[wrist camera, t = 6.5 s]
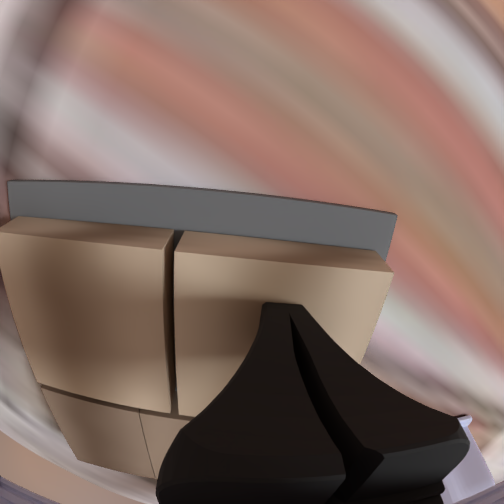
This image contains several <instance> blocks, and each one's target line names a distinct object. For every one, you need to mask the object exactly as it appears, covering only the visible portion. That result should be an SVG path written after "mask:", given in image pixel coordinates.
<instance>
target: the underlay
mask: <svg viewBox="0 0 504 504" xmlns="http://www.w3.org/2000/svg"><path fill="white" fill-rule="evenodd" d="M7 184H8V198H9V208H10V218H11V220H13V219H15V218H16V217H18V216H22V217H35V218H48V219H61V220H73V221H85V222H97V223H108V224H120V225H131V226H142V227H153V228H163V229H174V248H173V320H174V251H175V249H176V247H177V245H178V243H179V241H180V239H181V237H182V235H183V233H184V231H194V232H204V233H214V234H224V235H234V236H244V237H254V238H263V239H273V240H282V241H292V242H301V243H310V244H319V245H328V246H337V247H346V248H355V249H364V250H372V251H376V252H377V253H378V254H379V255H380V256H381V258H382V259H383V260H384V261H386V257H387V254H388V250H389V247H390V243H391V239H392V235H393V232H394V228H395V224H396V220H397V216H398V215H396V214H395V213H391V212H385V211H379V210H373V209H366V208H360V207H353V206H347V205H340V204H333V203H326V202H319V201H312V200H304V199H296V198H289V197H280V196H272V195H263V194H254V193H245V192H236V191H226V190H215V189H204V188H193V187H180V186H167V185H153V184H137V183H119V182H97V181H67V180H10V181H7ZM174 354H175V321H174ZM175 375H176V355H175ZM175 391H177V377H176V388H175Z"/></svg>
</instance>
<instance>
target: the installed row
mask: <svg viewBox="0 0 504 504" xmlns="http://www.w3.org/2000/svg"><path fill="white" fill-rule="evenodd" d="M41 390H42V392H43V394H44V397H45V399H46V401H47V403H48V405H49V407H50V409H51V412H52V414H53V416H54V418H55V420H56V422H57V424H58V425H59V427H60V429H61V431H62V433H63V435H64V437H65V439H66V440H67V442H68V444H69V446H70V447H71V449H72V451H73V453H74V454H75V456H76V458H77V459H78V460H80V461H83V462H87V463H90V464H93V465H97V466H101V467H104V468H108V469H112V470H116V471H120V472H124V473H129V474H133V475H138V476H143V477H148V478H153V479H155V478H156V479H158V474H159V470H160V467H161V464H162V462H163V459H164V457H165V455H166V453H167V451H168V449H169V447H170V446H171V444H172V442H173V440H174V439H175V437H176V435H177V434H178V432H179V430H180V429H181V428H183V427H184V426H185V425H186V424H187V423H189V422H190V421H191V420H192V419H193V418H195V417H193V416H185V415H179V409H178V395H177V391H175V393H174V398H173V402H172V407H171V412H170V413H164V412H158V411H152V410H146V409H141V408H135V407H130V406H125V405H120V404H116V403H111V402H107V401H102V400H98V399H94V398H90V397H86V396H82V395H79V394H75V393H71V392H68V391H64V390H61V389H57V388H54V387H51V386H48V385H45V384H42V386H41Z"/></svg>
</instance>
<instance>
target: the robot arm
mask: <svg viewBox="0 0 504 504" xmlns="http://www.w3.org/2000/svg"><path fill="white" fill-rule="evenodd" d="M471 421H472V417H471V416H470V415H468V416H464V417H460V418H456V417H453V416H450V415H448V414H445V413H442V412H440V411H437V410H435V409H432V408H429V407H427V406H425V405H423V404H421V403H419V402H417V401H415V400H413V399H411V398H409V397H407V396H405V395H404V394H402V393H400V392H398V391H397V390H395V389H393V388H392V387H390V386H389V385H387V384H385V383H384V382H382V381H381V380H379V379H378V378H377V377H375V376H374V375H372V374H371V373H370V372H369V371H367V370H366V369H365V368H363V367H362V366H361V365H360V364H358V363H357V362H356V361H355V360H354V359H353V358H351V357H350V356H349V355H348V354H347V353H346V352H345V351H344V350H343V349H342V348H341V347H340V346H339V345H338V344H337V343H336V342H335V341H334V340H333V339H332V338H331V337H330V336H329V335H328V334H327V333H326V331H325V330H324V329H323V328H322V327H321V326H320V325H319V324H318V322H317V321H316V320H315V319H314V318H313V317H312V315H311V314H310V313H309V312H308V311H307V310H306V308H305V307H304V306H303V305H300V304H286V303H274V302H265V303H264V304H262V310H261V316H260V322H259V328H258V332H257V335H256V337H255V339H254V341H253V343H252V345H251V348H250V350H249V352H248V353H247V355H246V357H245V359H244V360H243V362H242V364H241V365H240V367H239V368H238V370H237V371H236V373H235V374H234V375H233V377H232V378H231V380H230V381H229V382H228V384H227V385H226V386H225V387H224V388H223V390H222V391H221V392H220V393H219V394H218V395H217V396H216V397H215V398H214V399H213V400H212V402H211V403H210V404H209V405H208V406H207V407H206V408H205V409H204V410H203V411H202V412H200V413H199V414H198V415H197V416H196V417H195V418H193V419H192V420H191V421H190V422H189V423H187V424H186V425H185V426H184V427H183V428H181V429H180V430H179V432H178V434H177V435H176V437H175V439H174V440H173V442H172V444H171V446H170V447H169V449H168V451H167V453H166V455H165V457H164V459H163V462H162V464H161V467H160V470H159V474H158V480H157V486H156V497H157V499H158V502H159V504H504V481H502V482H500V483H498V484H496V485H495V482H494V479H493V476H492V474H491V472H490V470H489V468H488V466H487V464H486V462H485V460H484V458H483V456H482V454H481V452H480V450H479V448H478V446H477V444H476V442H475V440H474V438H473V436H472V434H471V433H470V431H469V429H468V427H467V426H468V425H469V424H470V422H471ZM0 504H59V503H57V502H55V501H52V500H49V499H47V498H45V497H43V496H40V495H38V494H36V493H33V492H31V491H29V490H27V489H25V488H23V487H20V486H18V485H16V484H14V483H12V482H10V481H8V480H6V479H5V478H3V477H1V476H0Z"/></svg>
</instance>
